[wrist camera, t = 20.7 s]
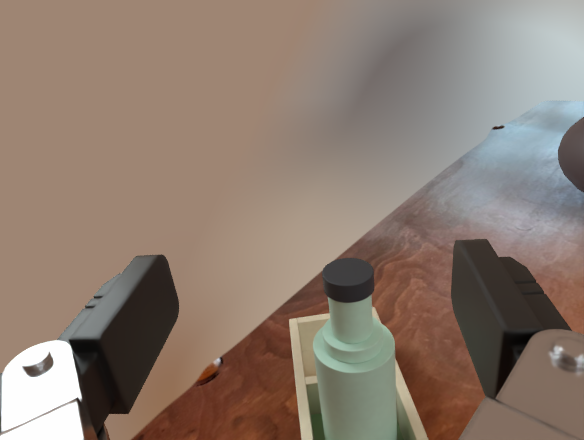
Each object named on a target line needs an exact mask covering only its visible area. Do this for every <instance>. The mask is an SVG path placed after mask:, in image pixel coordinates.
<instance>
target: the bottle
mask: <svg viewBox="0 0 584 440" xmlns="http://www.w3.org/2000/svg"><path fill="white" fill-rule="evenodd" d="M322 276H323V285H324V292H325V294H326V295H327V296H328V301H329V311H330V319H329V320H328V321H327V322H326V323H325V325H324V326H323V327H322V328H321V329H320V330H319V331H318V332H317V334H316V335H315V337H314V341H313V351H314V359H315V367H316V374H317V382H318V390H319V397H320V405H321V413H322V420H323V428H324V435H325V440H397V412H396V371H395V342H394V338H393V336H392V334H391V332H390V331H389V330H388V329H387V328H386V327H385V326H384V325H382V324H381V323H380V322H379V321H378V320H377V319H376V318H375V317H373V316H372V299H371V294H372V293H373V291H374V270H373V268H372V266H371V265H370V264H369V263H368V262H366V261H364V260H361V259H356V258H343V259H338V260H335V261H333V262H331V263H329V264H327V265H326V266H325V267H324V269H323V272H322Z"/></svg>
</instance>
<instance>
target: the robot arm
mask: <svg viewBox="0 0 584 440" xmlns="http://www.w3.org/2000/svg"><path fill="white" fill-rule="evenodd" d="M451 297H452V305H453V310H454V314H455V316H456V319H457V322H458V324H459V327H460V330H461V332H462V335H463V338H464V340H465V343H466V346H467V348H468V351H469V354H470V356H471V359H472V362H473V364H474V367H475V370H476V372H477V375H478V377H479V380H480V383H481V385H482V388H483V391H484V393H485V396H486V397H485V398H484V399H483V401H482V402H481V404H480V405H479V407H478V408H477V410H476V412H475V413H474V415H473V417H472V418H471V420H470V421H469V423H468V425H467V426H466V428H465V430H464V431H463V433H462V435H461V436H460V438H459V439H458V440H584V335H583V334H580V333H577V332H574V331H572V330H571V329H570V327H569V326H568V324H567V323H566V322H565V320H564V319H563V317H562V316H561V315H560V313H559V312H558V310H557V309H556V308H555V306H554V305H553V303H552V302H551V301H550V299H549V298H548V297H547V295H546V294H544V291H543V290H542V288H541V287H540V285H539V284H538V283H536V280H535V278H534V277H533V276H532V274H531V273H530V271H529V270H528V269H527V267H525V266H524V265H522V264H520V263H519V262H517V261H516V260H514V259H513V258H511V257H498V256H497V254H496V252H495V251H494V249H493V248H492V246H491V245H490V243H489V241H488V240H487V239H474V240H456V241H455V244H454V251H453V268H452V285H451ZM178 313H179V301H178V297H177V293H176V290H175V286H174V282H173V279H172V275H171V272H170V268H169V264H168V261H167V259H166V257H165V256H164V255H144V256H136V257H135V258H134V259H133V260H132V261H131V263H130V264H129V265H128V266H127V267H126V269H125V270H124V271H123V272H122V274H118V275H116V276H115V277H113V278H112V279H111V280H109V281H108V282H106V283H105V284H104V285H103V286H102V287H101V288H100V289H99V291H98V292H97V293H96V294H95V295H94V299H91V300H90V301H89V302H88V304H87V305H86V306H85V309H82V311H81V312H80V313H79V314H78V315H77V317H76V318H75V319H74V320H73V321H72V323H71V324H70V325H69V326H68V327H67V328H66V330H65V331H64V332H63V333H62V334H61V336H60V337H59V338H58V339H57V340H56V341H48V342H44V343H41V344H38V345H35V346H33V347H31V348H29V349H27V350H25V351H24V352H22V353H20V354H19V355H18V356H16V357H15V358H14V359H13V360H12V361H11V362H10V363H9V364H8V365H7V366H6V368H5V370H4V372H3V373H1V374H0V440H110V438H109V435H108V431H107V429H106V426H105V424H104V421H105V420H106V418H107V416H108V415H109V414H128V413H129V412H130V410H131V408H132V406H133V404H134V402H135V400H136V398H137V396H138V394H139V392H140V390H141V389H142V387H143V385H144V383H145V381H146V379H147V377H148V375H149V373H150V371H151V369H152V367H153V365H154V363H155V361H156V359H157V357H158V356H159V353H160V351H161V349H162V348H163V346H164V344H165V342H166V340H167V338H168V336H169V334H170V332H171V330H172V328H173V326H174V324H175V322H176V320H177V317H178Z"/></svg>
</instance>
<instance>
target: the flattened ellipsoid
mask: <svg viewBox="0 0 584 440" xmlns="http://www.w3.org/2000/svg"><path fill="white" fill-rule="evenodd" d="M558 160H559V164H560V166H561V169H562V171H563V173H564V175H565V176H566V177H567V178H568V179H569V180H570V181H571V182H572V183H573V184H574V185H575V187H576V188H577V189H579V190H581V191H582V192H584V117H583V118H582V119H580V120H579V121H578V122H576V123H575V124H574V125H573V126H571V127H570V128H569V130H568V131H567V132H566V133H565V135H564V136H563V138H562V140H561V143H560V146H559V149H558Z"/></svg>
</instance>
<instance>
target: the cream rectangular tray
mask: <svg viewBox="0 0 584 440" xmlns="http://www.w3.org/2000/svg"><path fill="white" fill-rule="evenodd" d="M372 316H373V317H375V318H376V319H377V320H378V321H379V322H380V319H379V317H378V314H377V312H376V309H375V307H372ZM329 319H330V313H328V314H321V315H315V316H308V317H301V318H295V319H289V326H290V335H291V345H292V354H293V364H294V373H295V383H296V392H297V402H298V411H299V421H300V430H301V440H325V435H324V428H323V420H322V413H321V405H320V397H319V390H318V382H317V374H316V367H315V359H314V351H313V341H314V337H315V335H316V334H317V332H318V331H319V330H320V329H321V328H322V327H323V326H324V325H325V323H326V322H327V321H328V320H329ZM380 323H381V322H380ZM395 371H396V412H397V440H428V437H427V435H426V432H425V430H424V427H423V425H422V422H421V420H420V418H419V415H418V413H417V410H416V408H415V405H414V403H413V400H412V398H411V395H410V393H409V390H408V388H407V386H406V383H405V381H404V378H403V376H402V373H401V371H400V368H399V366H398V363H397V361H396V359H395Z"/></svg>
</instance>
